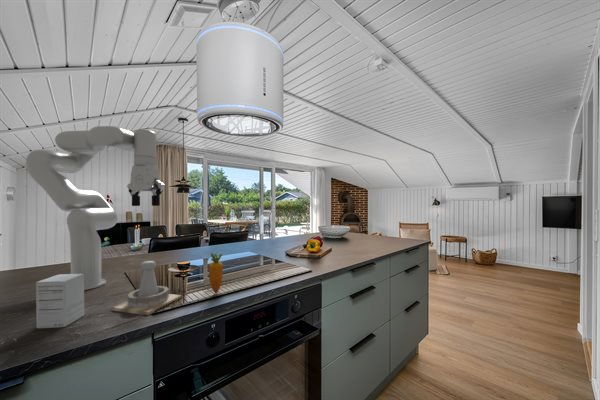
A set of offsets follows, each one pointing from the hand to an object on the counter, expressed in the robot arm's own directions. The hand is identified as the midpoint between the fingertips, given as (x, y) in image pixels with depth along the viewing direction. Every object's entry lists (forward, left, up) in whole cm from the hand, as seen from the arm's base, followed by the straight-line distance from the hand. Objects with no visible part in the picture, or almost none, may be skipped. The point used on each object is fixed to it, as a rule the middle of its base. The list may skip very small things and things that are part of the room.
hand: (145, 205), depth 100 cm
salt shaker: (+14, -12, -32) cm, 36 cm away
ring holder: (+14, -12, -32) cm, 37 cm away
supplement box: (0, -28, -32) cm, 43 cm away
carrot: (+30, +2, -32) cm, 44 cm away
